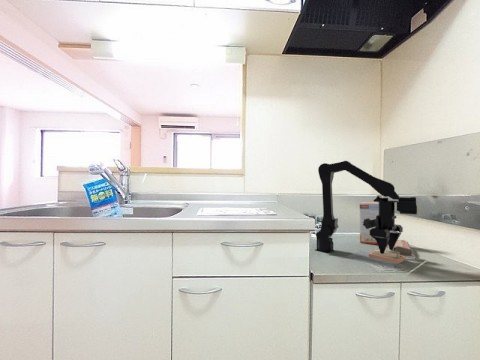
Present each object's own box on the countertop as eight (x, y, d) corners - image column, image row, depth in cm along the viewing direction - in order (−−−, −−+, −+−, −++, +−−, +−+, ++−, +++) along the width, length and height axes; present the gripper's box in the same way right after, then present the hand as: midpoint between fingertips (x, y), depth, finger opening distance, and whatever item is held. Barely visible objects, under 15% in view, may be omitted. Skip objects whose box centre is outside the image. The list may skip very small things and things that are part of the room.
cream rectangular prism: (395, 262, 103) (395, 254, 103) (374, 257, 109) (374, 250, 109) (399, 259, 106) (399, 252, 106) (378, 255, 112) (378, 248, 112)
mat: (343, 258, 109) (343, 257, 109) (360, 251, 119) (360, 250, 119) (391, 269, 96) (391, 267, 96) (405, 260, 106) (405, 259, 106)
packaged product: (387, 237, 128) (411, 240, 123) (387, 247, 128) (411, 250, 123) (387, 246, 112) (415, 248, 107) (387, 257, 112) (415, 260, 107)
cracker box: (391, 243, 134) (391, 202, 134) (390, 246, 129) (390, 203, 129) (361, 240, 141) (361, 201, 141) (359, 242, 136) (359, 202, 136)
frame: (368, 257, 109) (368, 253, 109) (376, 254, 114) (376, 250, 114) (398, 263, 101) (398, 259, 101) (405, 259, 106) (405, 256, 106)
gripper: (375, 209, 119) (375, 244, 119) (356, 213, 107) (356, 251, 107) (403, 211, 111) (403, 249, 111) (385, 215, 99) (385, 257, 99)
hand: (386, 251), depth 107 cm, fingers open, 9 cm apart
